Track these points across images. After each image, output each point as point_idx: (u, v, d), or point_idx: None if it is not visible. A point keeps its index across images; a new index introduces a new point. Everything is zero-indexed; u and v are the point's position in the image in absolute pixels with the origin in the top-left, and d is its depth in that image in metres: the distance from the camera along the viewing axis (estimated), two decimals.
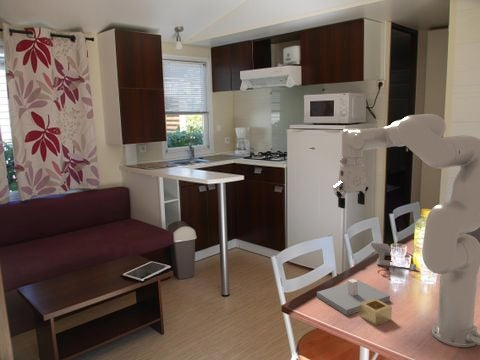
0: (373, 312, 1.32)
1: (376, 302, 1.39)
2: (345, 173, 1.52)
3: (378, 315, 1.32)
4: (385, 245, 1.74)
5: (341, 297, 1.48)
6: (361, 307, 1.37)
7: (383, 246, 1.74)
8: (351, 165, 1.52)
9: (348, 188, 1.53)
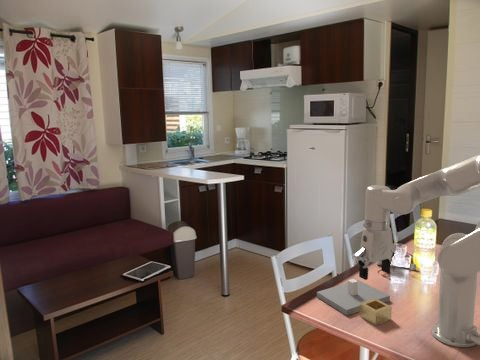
0: (373, 312, 1.32)
1: (376, 302, 1.39)
2: (369, 240, 1.28)
3: (378, 314, 1.32)
4: None
5: (341, 297, 1.48)
6: (361, 307, 1.37)
7: None
8: (376, 230, 1.28)
9: (372, 257, 1.29)
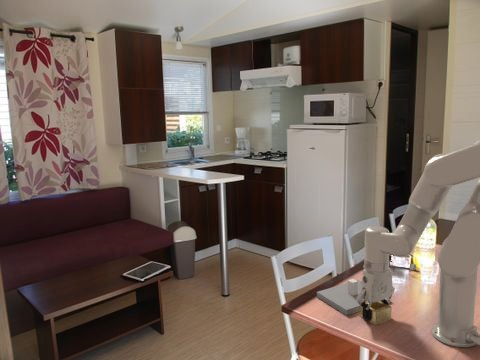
0: (373, 312, 1.32)
1: (376, 302, 1.39)
2: (369, 281, 1.31)
3: (378, 314, 1.32)
4: None
5: (341, 297, 1.48)
6: (361, 307, 1.37)
7: None
8: (376, 272, 1.30)
9: (372, 298, 1.31)
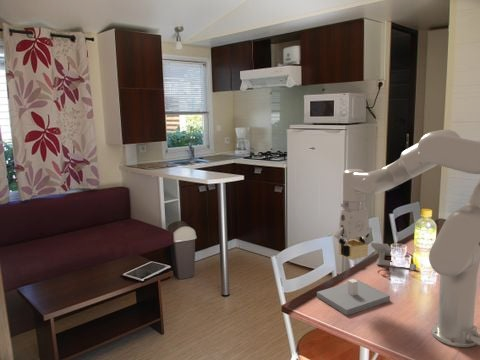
0: (350, 248, 1.43)
1: (354, 241, 1.49)
2: (346, 218, 1.41)
3: (355, 250, 1.43)
4: (385, 245, 1.74)
5: (341, 297, 1.48)
6: (340, 245, 1.48)
7: (383, 246, 1.74)
8: (353, 210, 1.41)
9: (350, 234, 1.42)
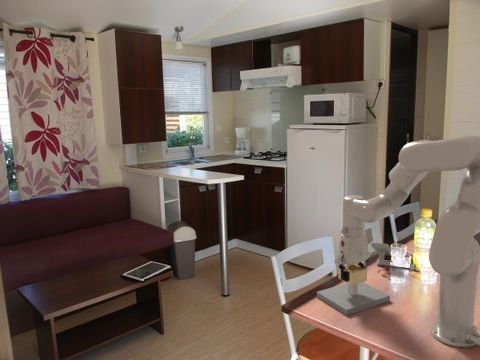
0: (350, 273, 1.45)
1: (353, 266, 1.51)
2: (346, 244, 1.43)
3: (354, 275, 1.45)
4: (385, 245, 1.74)
5: (341, 297, 1.48)
6: (339, 270, 1.49)
7: (383, 246, 1.74)
8: (352, 236, 1.42)
9: (349, 260, 1.43)
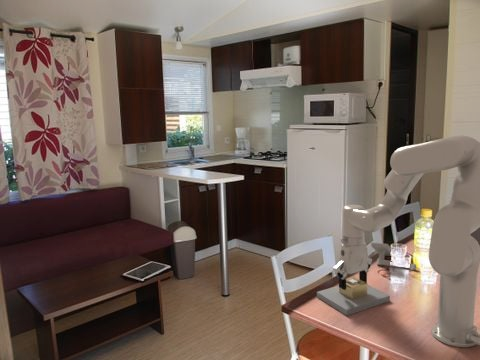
0: (350, 288, 1.46)
1: None
2: (346, 254, 1.43)
3: (355, 290, 1.45)
4: (385, 245, 1.74)
5: (341, 297, 1.48)
6: None
7: (383, 246, 1.74)
8: (352, 245, 1.43)
9: (349, 269, 1.44)
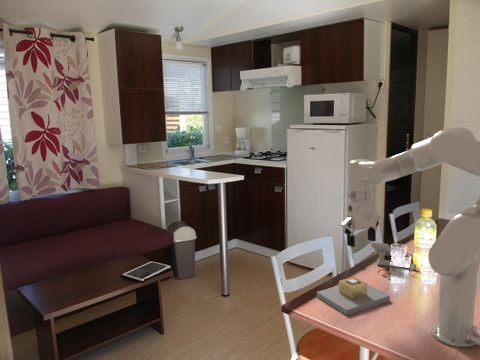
0: (350, 288, 1.46)
1: None
2: (354, 209, 1.39)
3: (355, 290, 1.45)
4: (385, 245, 1.74)
5: (341, 297, 1.48)
6: (340, 284, 1.50)
7: (383, 246, 1.74)
8: (360, 200, 1.39)
9: (358, 225, 1.40)
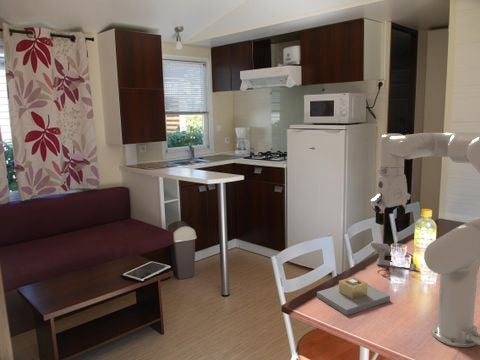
0: (350, 288, 1.46)
1: None
2: (385, 185, 1.33)
3: (355, 290, 1.45)
4: (385, 245, 1.74)
5: (341, 297, 1.48)
6: (340, 284, 1.50)
7: (383, 246, 1.74)
8: (392, 176, 1.33)
9: (388, 202, 1.34)
